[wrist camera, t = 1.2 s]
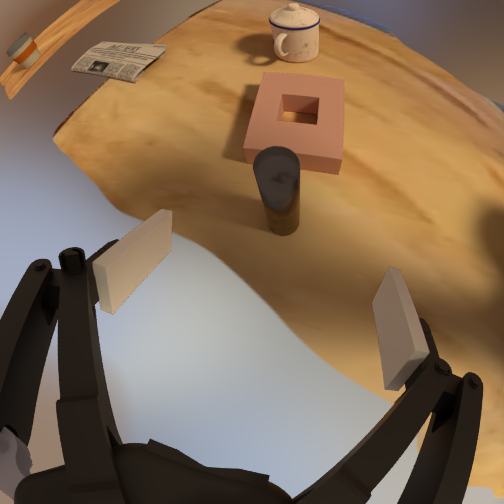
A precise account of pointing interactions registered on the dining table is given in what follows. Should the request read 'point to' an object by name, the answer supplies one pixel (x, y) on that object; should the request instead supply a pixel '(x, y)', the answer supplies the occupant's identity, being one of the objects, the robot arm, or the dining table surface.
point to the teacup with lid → (295, 33)
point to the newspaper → (119, 60)
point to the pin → (279, 187)
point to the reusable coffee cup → (24, 51)
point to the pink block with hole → (299, 134)
